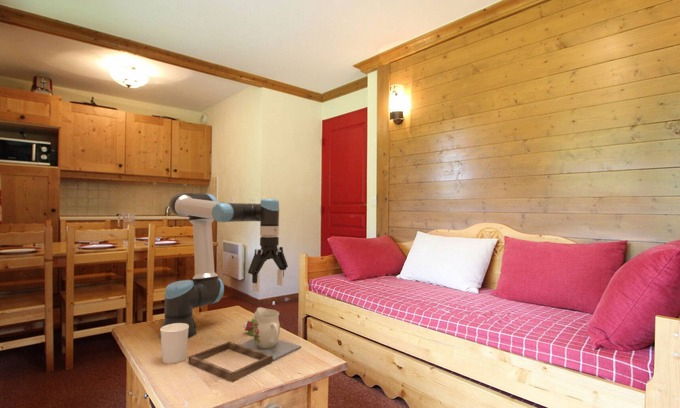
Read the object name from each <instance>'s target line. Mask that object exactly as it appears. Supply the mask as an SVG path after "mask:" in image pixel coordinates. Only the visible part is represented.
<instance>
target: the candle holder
mask: <svg viewBox="0 0 680 408" xmlns="http://www.w3.org/2000/svg"><path fill="white" fill-rule="evenodd" d="M161 327H162V326H161ZM161 327H160V329H159V332H160V331H161V338H160V347H161V348H160V349H161V361H162V362H163V363H164V364H166V365H167V364H168V365H170V364H177V363H180V362H182V361H185V360H186V359H187V355H188V354H187V353H188V352H187V351H188V343H189V342H188V341H189V338H188V329H189V325H188V324H184V323H175V324H169V325H166V326H163V327H162V328H161Z"/></svg>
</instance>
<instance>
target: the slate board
mask: <svg viewBox="0 0 680 408" xmlns="http://www.w3.org/2000/svg"><path fill="white" fill-rule="evenodd" d="M238 345H241V346H245V347H248V348H251V349H254V350H257V351H260V352H263V353H266V354H269V355H272V362H275V361H277V360H279V359H282V358H284V357H286V356H288V355H290V354H292V353H295V352H296V351H298V350H300V349H302V345H299V344H296V343H292V342H289V341H285V340H281V339H278V340H277V342H276V344H275V345H274V347H272V348H267V349H263V348H259V347H258V345H257V344H256V342H255V340H254V338H252V339H250V340H248V341H244V342H242V343H239V344H238Z"/></svg>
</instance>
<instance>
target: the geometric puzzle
mask: <svg viewBox="0 0 680 408" xmlns="http://www.w3.org/2000/svg"><path fill="white" fill-rule="evenodd" d="M254 321H255V318H250V320H247V321H245V322H244V324H243V330H244V332H246V333H247V334H248V335H250V336H251V337H252V336H253V324H254ZM253 337H254V336H253Z"/></svg>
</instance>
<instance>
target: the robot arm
mask: <svg viewBox="0 0 680 408" xmlns="http://www.w3.org/2000/svg"><path fill="white" fill-rule="evenodd" d="M168 207H169V210H170V212H171V213H172V214H173V215H175V216H177V217H180V218H188V222H189V223H190V224H192V233H193V234H192V235H193V248H194V249H193V250H194V267H195V269H194V271H195V274H194V276H193V277H192V280H191V279H184V280H178V281H174V282H171V283H169V284H167V286H165V291H164V294H163V295H164V296H163V297H164V319H163V322H162V325H161V327H160V329H161V328H162V327H163V326H166V325H169V324H175V323H184V324H188V325H189V329H188V339H189V338H191V337H194V336H195V335H196V334H197V330H198V329H197V325H196V321H195V319H194V309H196V308H199V307H204V306H206V305H207V306H208V305H212V304H215V303H218V302H219V301H220V300H221V299H222V298H223V297H224V292H225V286H224V282H223V280H222V279H220V278H219V275H218V274H217V273H216V272H215V260H214V245H213V244H214V243H213V242H214V241H213V228H212V226H213V225H212V224H213V222H214V221H215V222H217V223H218V222H220V223H231V222H232V223H234V222H259V223H260V224H259V226H260V227H259V228H260V229H259V230H260V231H259V235H260V237H259V246H260V247H261V248H260V249H257V248H256V249H254V254H253V258H252V260H251V263H250V266H249V268H248V270H247V274H250V275H251V277H252V278H251V282H252V291H253V292H257V293H258V292H260V279H261V278H260V274H259V273H260V271H261V270H262V269H263V267H264V264H265V263H266V262H267V261H268V260H273V262H274V263H275V265H276V266H277V268H278V269H277V271H276V275H277V276H276V279H277V280H276V283H277V286H282V287H283V286H284V277H285V271H286V270H287V268H288V267H289V266H288V262H287V260H286V256H285V253H284V248H283V247H282V246H279V244H280V243H279V242H280V239H279V233H280V228H279V226H280V224H279V223H280V202H279V200H278V199H276V198H262V199H260V202H259V203H249V202H248V203H239V202H238V203H237V202H234V203H232V202H224V201H219V200H218V199H217V198H216V197H215V196H214V195H213V194H210V193H205V192H202V193H201V192H199V193H197V192H180V193H177V194H176V193H175V195H173V196H172V197H171V198H170V200H169V203H168ZM159 339H161V331H160V330H159Z"/></svg>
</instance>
